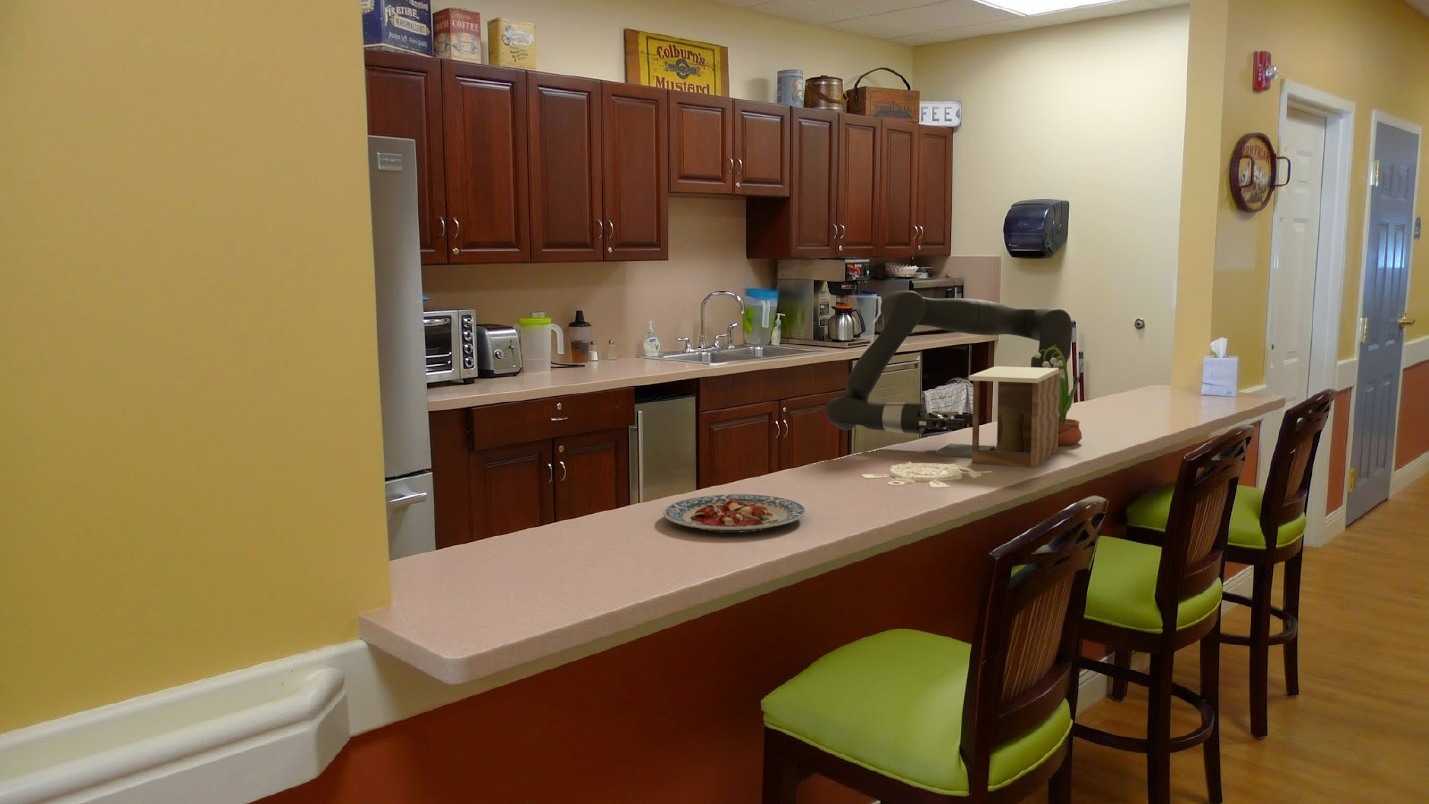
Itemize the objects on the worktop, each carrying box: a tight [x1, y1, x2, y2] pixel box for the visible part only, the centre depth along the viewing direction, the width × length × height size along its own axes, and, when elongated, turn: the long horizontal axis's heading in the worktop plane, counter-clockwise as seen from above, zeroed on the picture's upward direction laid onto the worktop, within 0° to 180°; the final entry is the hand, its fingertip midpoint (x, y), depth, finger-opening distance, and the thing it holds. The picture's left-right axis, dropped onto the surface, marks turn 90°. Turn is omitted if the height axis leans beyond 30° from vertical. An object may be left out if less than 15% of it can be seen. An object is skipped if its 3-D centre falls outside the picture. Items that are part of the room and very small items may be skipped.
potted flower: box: [1034, 345, 1084, 446], centre depth 257 cm, size 12×10×25 cm
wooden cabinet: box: [968, 365, 1060, 468], centre depth 241 cm, size 24×15×20 cm, turn 151°
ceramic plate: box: [662, 493, 807, 533], centre depth 185 cm, size 26×26×3 cm
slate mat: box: [936, 443, 995, 458], centre depth 247 cm, size 11×11×1 cm
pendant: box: [861, 460, 993, 489], centre depth 223 cm, size 21×28×1 cm
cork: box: [998, 410, 1026, 453], centre depth 241 cm, size 6×6×11 cm
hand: (969, 421), depth 246 cm, fingers open, 8 cm apart
